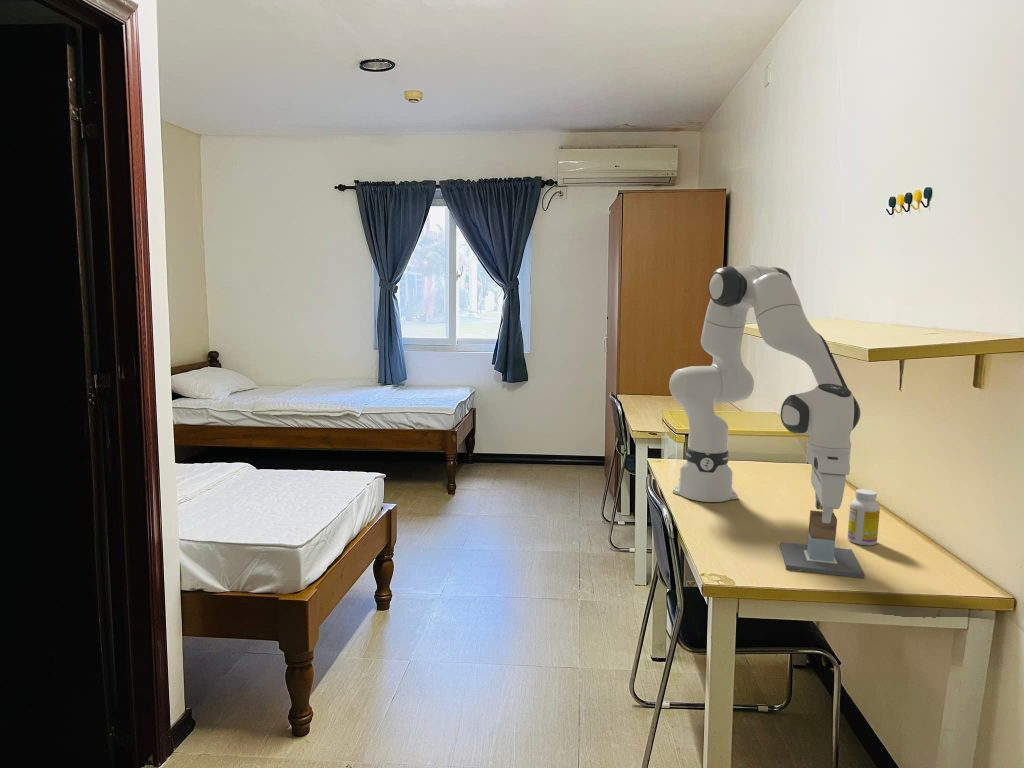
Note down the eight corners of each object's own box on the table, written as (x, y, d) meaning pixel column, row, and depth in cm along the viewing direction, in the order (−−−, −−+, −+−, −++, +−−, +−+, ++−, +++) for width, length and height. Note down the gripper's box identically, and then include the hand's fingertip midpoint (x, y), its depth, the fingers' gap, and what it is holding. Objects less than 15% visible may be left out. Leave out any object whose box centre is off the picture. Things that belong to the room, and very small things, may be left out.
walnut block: (808, 530, 167) (810, 510, 167) (831, 533, 166) (833, 512, 165) (811, 538, 162) (813, 517, 162) (835, 540, 161) (837, 519, 160)
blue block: (806, 551, 168) (808, 530, 167) (829, 553, 167) (831, 533, 166) (809, 559, 163) (811, 538, 163) (833, 561, 162) (835, 540, 161)
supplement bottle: (880, 541, 178) (885, 492, 176) (871, 548, 174) (876, 497, 172) (852, 534, 183) (857, 486, 181) (842, 541, 178) (847, 491, 176)
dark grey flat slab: (779, 545, 174) (780, 541, 174) (851, 553, 170) (851, 549, 170) (786, 569, 160) (786, 564, 160) (864, 578, 156) (864, 573, 156)
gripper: (807, 444, 172) (802, 500, 175) (819, 466, 153) (813, 528, 155) (835, 447, 171) (830, 502, 173) (851, 469, 151) (845, 532, 153)
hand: (822, 515), depth 164 cm, fingers open, 8 cm apart
